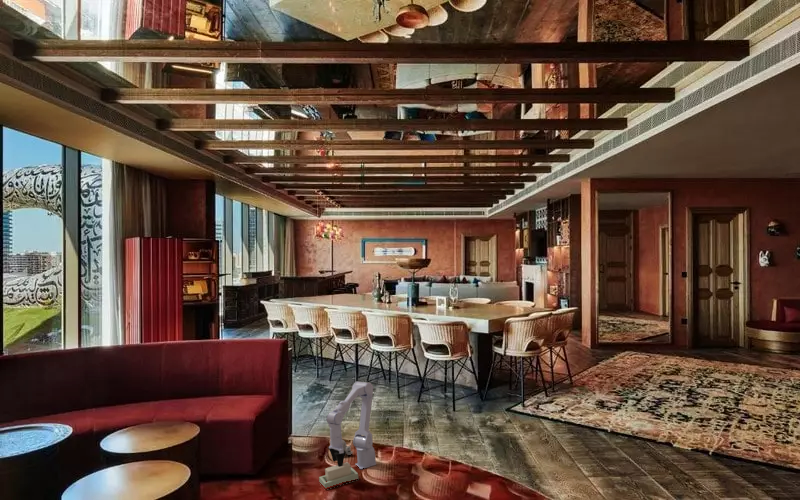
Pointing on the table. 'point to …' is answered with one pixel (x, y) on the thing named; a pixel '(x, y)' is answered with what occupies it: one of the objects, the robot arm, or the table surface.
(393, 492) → the table surface
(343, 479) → the rack
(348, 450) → the chubby cartoon animal
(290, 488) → the table surface
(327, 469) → the beige rectangular block
